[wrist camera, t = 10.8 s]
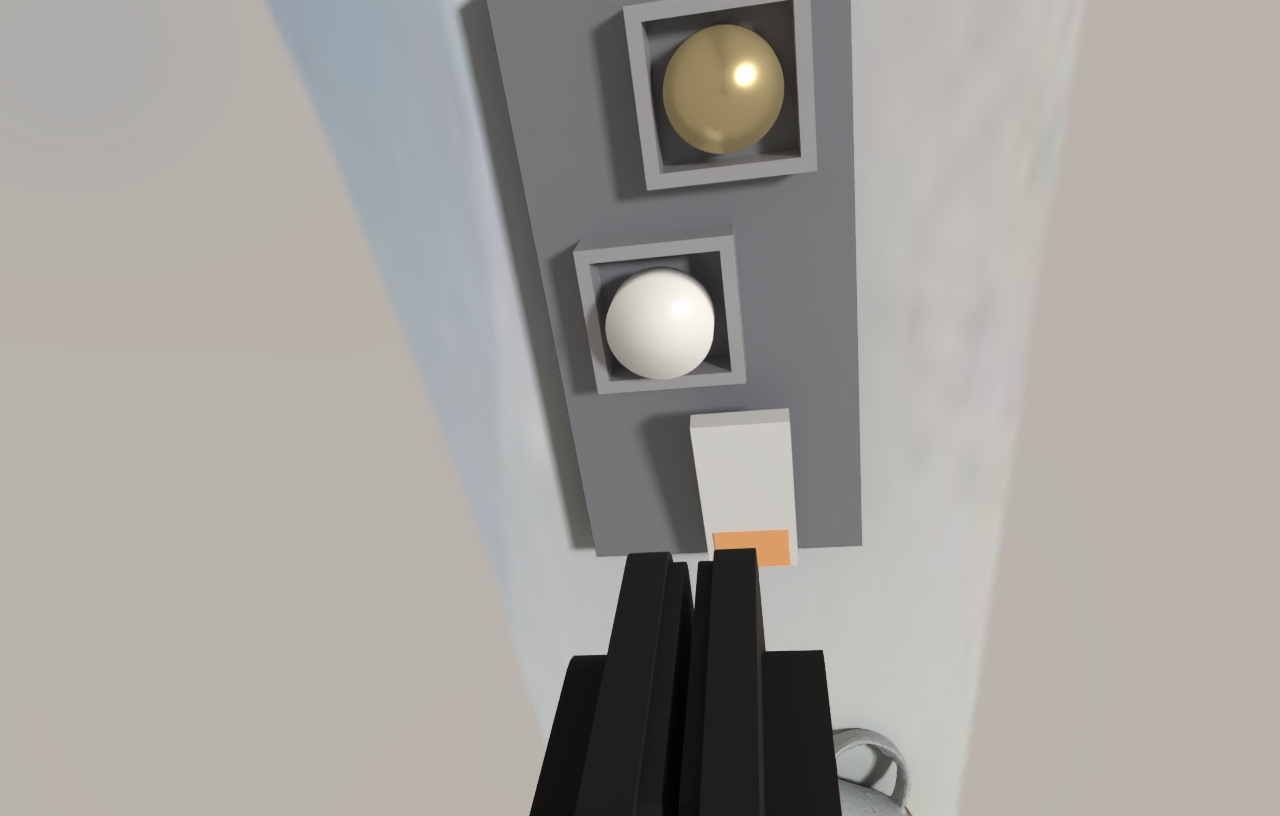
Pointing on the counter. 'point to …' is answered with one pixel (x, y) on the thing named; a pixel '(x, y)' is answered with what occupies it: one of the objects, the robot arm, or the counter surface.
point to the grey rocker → (747, 483)
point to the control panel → (692, 251)
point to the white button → (660, 323)
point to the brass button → (723, 88)
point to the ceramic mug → (864, 807)
